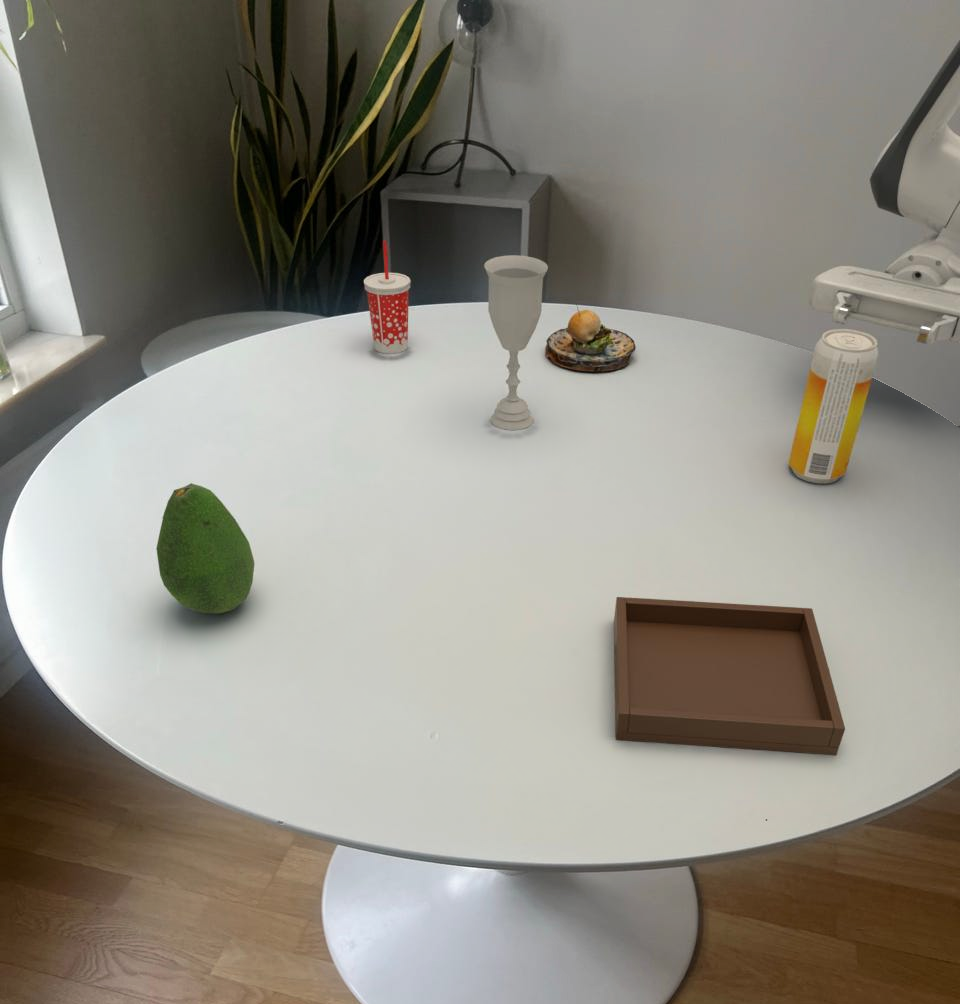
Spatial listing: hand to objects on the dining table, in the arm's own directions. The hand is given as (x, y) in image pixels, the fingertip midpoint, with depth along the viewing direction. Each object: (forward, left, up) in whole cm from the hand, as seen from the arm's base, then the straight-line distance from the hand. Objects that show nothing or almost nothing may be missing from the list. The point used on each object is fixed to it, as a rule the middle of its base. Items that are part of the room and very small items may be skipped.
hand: (881, 326), depth 105 cm
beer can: (+6, +10, -13) cm, 17 cm away
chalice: (+40, +1, -13) cm, 42 cm away
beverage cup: (+58, -19, -13) cm, 62 cm away
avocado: (+64, +40, -13) cm, 77 cm away
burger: (+31, -19, -13) cm, 38 cm away
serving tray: (+20, +46, -12) cm, 52 cm away
